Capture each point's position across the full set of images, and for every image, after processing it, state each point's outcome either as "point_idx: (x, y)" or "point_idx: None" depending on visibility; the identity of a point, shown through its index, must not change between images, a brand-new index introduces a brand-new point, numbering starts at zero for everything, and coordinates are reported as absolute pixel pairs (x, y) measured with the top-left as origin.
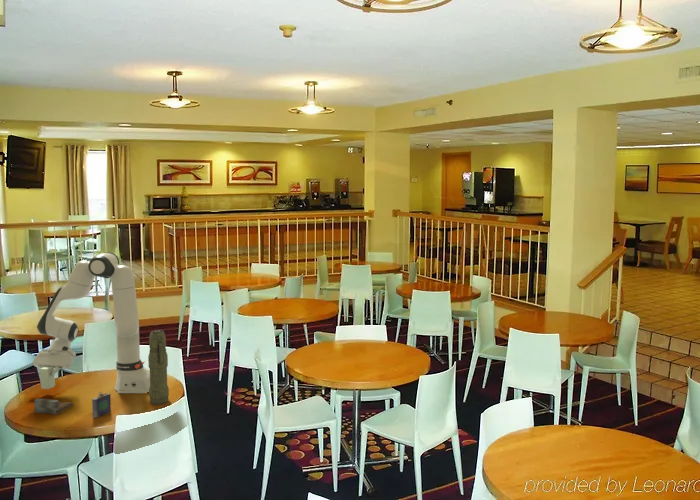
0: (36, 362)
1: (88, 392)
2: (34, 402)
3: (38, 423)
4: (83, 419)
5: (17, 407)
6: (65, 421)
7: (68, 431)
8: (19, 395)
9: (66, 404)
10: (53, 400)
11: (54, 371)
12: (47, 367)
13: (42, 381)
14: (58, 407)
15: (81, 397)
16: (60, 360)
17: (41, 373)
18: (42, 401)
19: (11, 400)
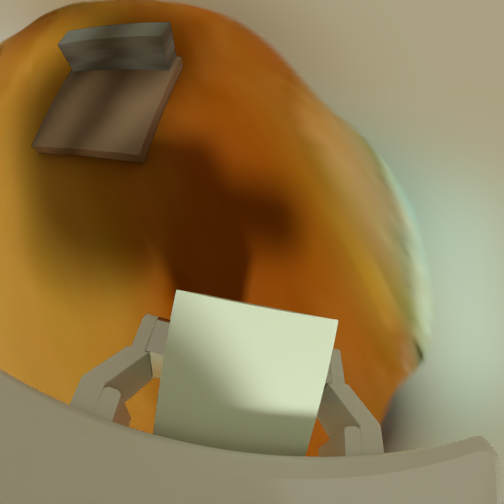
0: (461, 460)
1: (24, 348)
2: (170, 31)
3: (130, 12)
4: (12, 66)
5: (300, 117)
6: (55, 41)
7: (49, 12)
8: (398, 298)
9: (51, 123)
10: (76, 37)
11: (123, 353)
12: (240, 400)
13: (269, 307)
14: (70, 63)
15: (26, 269)
16: (13, 474)
17: (294, 312)
18: (126, 26)
19: (394, 217)
